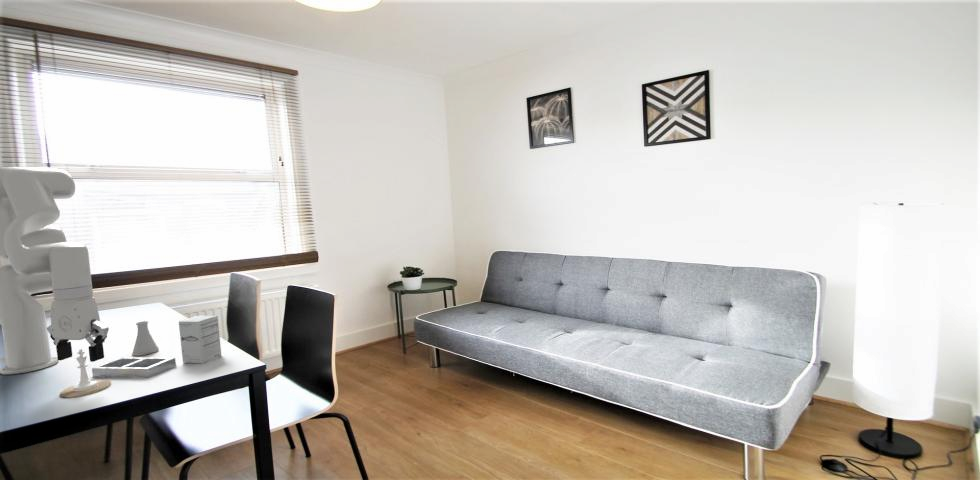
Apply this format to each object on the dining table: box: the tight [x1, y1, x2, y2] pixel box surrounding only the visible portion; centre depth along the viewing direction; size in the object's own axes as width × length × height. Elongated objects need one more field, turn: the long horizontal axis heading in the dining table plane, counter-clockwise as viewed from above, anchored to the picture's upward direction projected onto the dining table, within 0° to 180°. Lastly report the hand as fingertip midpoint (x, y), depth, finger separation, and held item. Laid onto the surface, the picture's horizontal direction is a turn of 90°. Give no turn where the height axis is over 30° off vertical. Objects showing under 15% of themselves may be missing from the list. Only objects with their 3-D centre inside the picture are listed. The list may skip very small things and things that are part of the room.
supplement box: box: [178, 315, 222, 364], centre depth 141 cm, size 7×7×13 cm
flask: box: [131, 320, 160, 357], centre depth 151 cm, size 7×7×10 cm
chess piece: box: [73, 348, 98, 391], centre depth 121 cm, size 5×5×10 cm
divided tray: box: [91, 356, 177, 378], centre depth 134 cm, size 18×9×2 cm, turn 80°
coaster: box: [59, 379, 112, 399], centre depth 121 cm, size 10×10×1 cm
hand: (81, 359), depth 121 cm, fingers open, 9 cm apart
